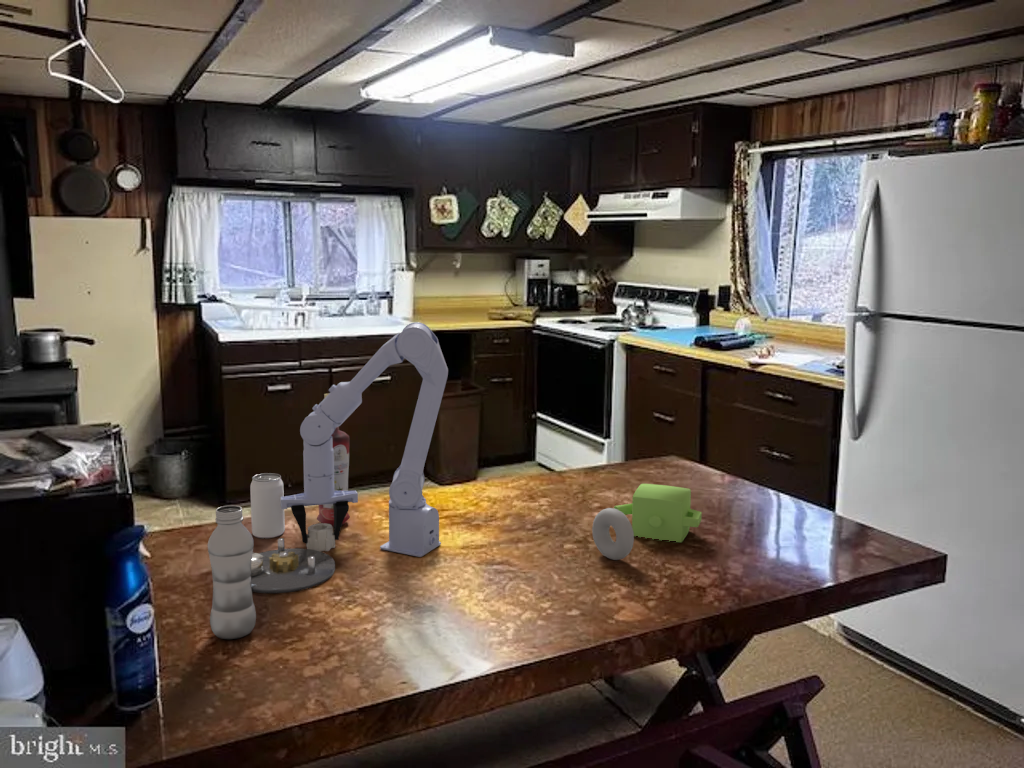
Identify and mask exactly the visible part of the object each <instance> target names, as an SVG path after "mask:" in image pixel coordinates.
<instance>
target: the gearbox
mask: <svg viewBox="0 0 1024 768" xmlns="http://www.w3.org/2000/svg"><path fill="white" fill-rule="evenodd" d="M691 493H692V490H691V488H686V487H680V486H674V485H664V484H653V483H641V484H639V486H638V487H637V488H636V489H635V492H634V493H633V495H632V503H626V504H619V505H614V507H613V508H614V509H617V510H619V511H621V512H622V513H624V514H625V516H627V515H631V516H632V517H631V525H632V529H633V532H634V537H636V536H638V537H637V538H641V537H645V538H644V539H647V538H652V539H651V540H654V539H659V540H658V541H662V540H669V541H668V542H670V541H676V542H675V543H683V542H684V540H685V538H686V537H687V535H688V534H689V531H690V528H699V526H700V524H701V522H702V515H703V514H702V513H703V512H702V511H700V510H696V509H692V508H691V507H692V506H691V505H692V504H691V503H692V502H691V501H692V499H691V498H692V497H691V495H692V494H691Z"/></svg>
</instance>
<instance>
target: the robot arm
mask: <svg viewBox="0 0 1024 768" xmlns="http://www.w3.org/2000/svg"><path fill="white" fill-rule="evenodd" d="M404 360H407V361H408V362H409V363H411V364H412V365H413V366H414V367H415V368H416V370H417V372H418V373H419V374H420V376H421V378H422V380H421V381H422V382H421V385H420V390H419V392H418V397H417V398H418V399H417V401H416V405H415V409H414V412H413V417H412V420H411V424H410V428H409V432H408V436H407V439H406V443H405V447H404V452H403V455H402V459H401V463H400V465H399V467H398V468H396V470H395V471H394V473H393V476H392V482H391V483H390V486H389V489H388V496H389V500H388V541H387V542H385V543H383V544H381V545H380V546H379V549H380V550H384V551H387V552H388V551H389V552H393V553H398V554H404V555H408V556H413V557H417V558H421V557H423V556H425V555H427V554H428V553H429V552H431V551H433V550H434V549H436V548H437V547H439V546H440V545H442V542H441V541H440V515H439V511H438V509H437V508H435V507H433V506H430V505H429V504H427V501H426V500H427V499H426V498H425V497H424V496H425V495H423V488H424V485H425V474H424V469H425V468H424V467H425V463H426V460H427V456H428V452H429V449H430V445H431V441H432V438H433V433H434V430H435V426H436V421H437V418H438V414H439V411H440V408H441V403H442V399H443V395H444V392H445V388H446V384H447V380H448V378H449V377H448V375H449V368H448V366H447V363H446V359H445V357H444V354H443V352H442V349H441V345H440V342H439V339H438V336H436V334H435V333H434V332H433V331H432V329H431V328H430V327H429V326H428V325H427V324H425V323H422V322H418V321H417V322H416V321H415V322H411V323H409V324H407V325H406V326H405V327H404V328H403V329H402V330H401V332H398V333H397V334H395V335H393V337H391V338H390V339H389V340H387V342H385V343H384V344H383V345H382V346H381V347H380V348H379V349H378V350H377V351H376V352H375V354H373V355H372V357H370V359H369V360H368V361H367V363H365V365H364V366H363V367H362V368H361V369H360V370H359V371H358V373H356V375H355V376H354V377H353V378H352V379H351V380H350V381H341V382H339V383H337V385H336V384H332V385H331V386H330V388H329V389H328V393H329V394H328V395H327V396H326V397H325V398H323V399H322V401H320V402H319V404H317V403H316V404H314V405H313V407H312V410H313V411H312V412H310V413H309V414H308V416H306V417H304V420H302V422H301V424H300V429H299V432H300V433H299V434H300V436H301V438H302V440H303V444H302V445H303V450H302V451H303V453H302V455H303V488H304V489H303V490H304V491H303V492H301V493H297V494H292V495H285V496H284V497H281V509H284V510H287V509H288V508H290V509H291V514H292V515H293V517H294V519H295V521H296V523H297V525H298V528H299V530H300V534H301V539H302V543H303V544H306V543H307V534H308V533H307V513H306V507H310V506H311V507H312V506H319V505H323V504H333V509H334V527H333V532H334V535H335V541H338V540H340V532H341V528H342V526H343V525H342V523H343V520H344V518H345V516H346V514H347V512H348V513H349V509H350V506H349V503H353V504H355V503H358V501H359V498H358V497H359V493H358V492H357V490H355V489H354V490H348V491H334V450H333V440H332V436H331V435H332V434H333V433H334V431H335V428H336V427H338V426H339V427H341V425H342V424H343V423H344V422H345V421H346V420H347V419H348V418H349V417H350V416H351V415H352V414H353V413H354V412H355V410H356V409H358V407H359V406H360V405H361V404H362V403H363V398H362V397H363V396H362V394H363V392H364V391H365V390H366V389H367V388H368V387H369V386H370V385H371V384H372V383H373V382H375V380H376V379H377V378H378V377H379V376H380V375H381V374H382V373H383V372H384V371H386V369H387V368H389V367H390V366H393V365H397V364H401V363H403V362H404Z"/></svg>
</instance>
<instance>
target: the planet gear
mask: <svg viewBox="0 0 1024 768" xmlns="http://www.w3.org/2000/svg"><path fill="white" fill-rule="evenodd" d="M306 534H307V543H305V547H306V549H310V550H316V551H320V552H324V551H325V552H329V551H330V550H331V549H335V548H336V540H335V535H334V527H332V525H331V524H326V523H324V524H323V523H321V522H318V523H313V524H311V525H309V526H308V527H307V533H306Z"/></svg>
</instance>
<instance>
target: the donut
mask: <svg viewBox="0 0 1024 768" xmlns="http://www.w3.org/2000/svg"><path fill="white" fill-rule="evenodd" d="M591 527H592V529H591V531H592V539H593V542H594V544H595V546H596V547H597V550H598V551H599V552H600V553H601V555H602V556H604V557H605V558H607V559H609V560H613V561H618V560H622V559H625V558H626V557H627V556H628V555H630V553H631V551H632V549H633V548H634V542H635V536H634V532H633V529H632V522H630V520H629V518H628V517H627V515H625V514H624V513H622V512H621V511H619V510H617V509H614V507H607V508H604V509H601V510H600V511H599V512H598V513H597V514H596V515H595V517H594V519H593V522H592V526H591ZM611 527H612V529H613V530H614V533H615V541H614V540H613V538H612V537H611V533H610V529H611Z"/></svg>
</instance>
